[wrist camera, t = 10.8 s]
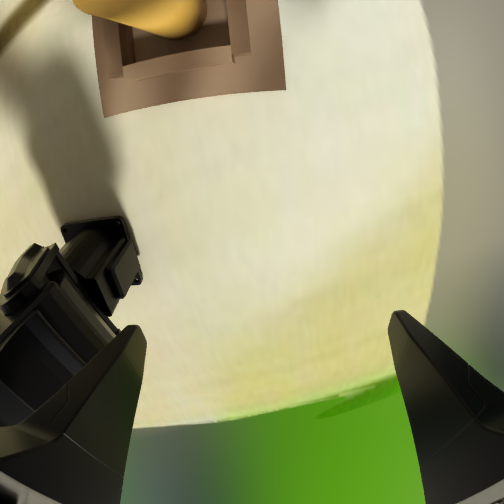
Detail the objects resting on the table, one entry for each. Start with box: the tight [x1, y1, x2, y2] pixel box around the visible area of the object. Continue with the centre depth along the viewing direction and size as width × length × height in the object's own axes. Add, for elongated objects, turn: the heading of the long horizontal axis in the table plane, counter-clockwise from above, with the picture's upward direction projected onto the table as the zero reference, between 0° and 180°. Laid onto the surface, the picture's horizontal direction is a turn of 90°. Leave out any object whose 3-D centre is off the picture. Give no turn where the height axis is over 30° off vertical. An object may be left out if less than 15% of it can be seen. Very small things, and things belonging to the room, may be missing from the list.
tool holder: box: [92, 0, 286, 118], centre depth 13 cm, size 12×12×3 cm
